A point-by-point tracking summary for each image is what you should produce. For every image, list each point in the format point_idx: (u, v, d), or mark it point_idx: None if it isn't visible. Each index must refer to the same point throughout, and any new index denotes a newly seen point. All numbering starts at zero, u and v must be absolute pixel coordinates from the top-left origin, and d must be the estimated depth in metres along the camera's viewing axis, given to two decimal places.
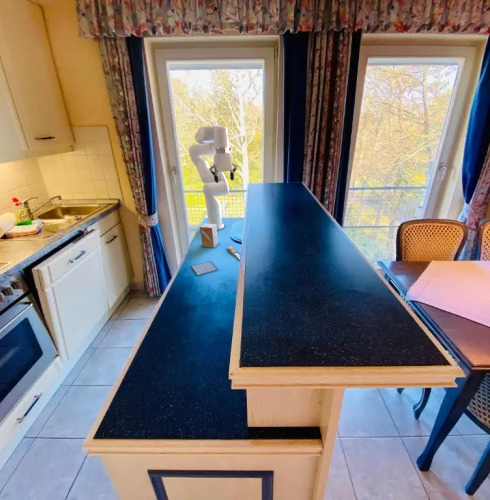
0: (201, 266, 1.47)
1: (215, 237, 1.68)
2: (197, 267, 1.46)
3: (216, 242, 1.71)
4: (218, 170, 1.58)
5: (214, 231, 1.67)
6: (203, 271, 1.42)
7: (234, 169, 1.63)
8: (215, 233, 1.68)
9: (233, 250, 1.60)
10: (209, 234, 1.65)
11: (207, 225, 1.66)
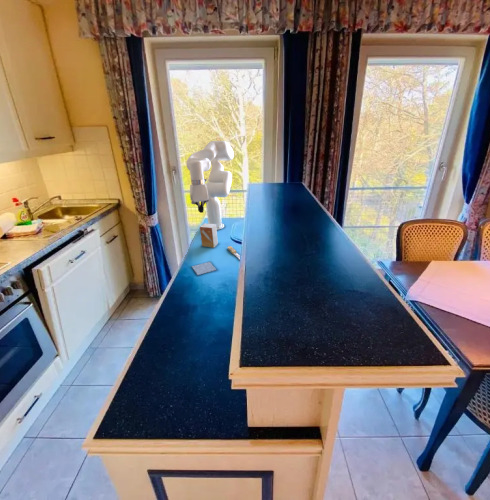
0: (201, 266, 1.47)
1: (215, 237, 1.68)
2: (197, 267, 1.46)
3: (216, 242, 1.71)
4: (194, 200, 1.65)
5: (214, 231, 1.67)
6: (203, 271, 1.42)
7: (203, 202, 1.69)
8: (215, 233, 1.68)
9: (233, 250, 1.60)
10: (209, 234, 1.65)
11: (207, 225, 1.66)
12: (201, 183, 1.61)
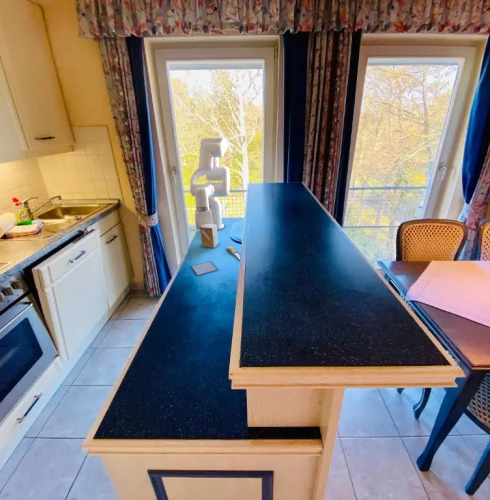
0: (201, 266, 1.47)
1: (215, 237, 1.68)
2: (197, 267, 1.46)
3: (216, 242, 1.71)
4: (199, 226, 1.68)
5: (215, 231, 1.67)
6: (203, 271, 1.42)
7: None
8: (215, 233, 1.68)
9: (233, 250, 1.60)
10: (209, 235, 1.65)
11: (207, 225, 1.66)
12: (206, 209, 1.65)
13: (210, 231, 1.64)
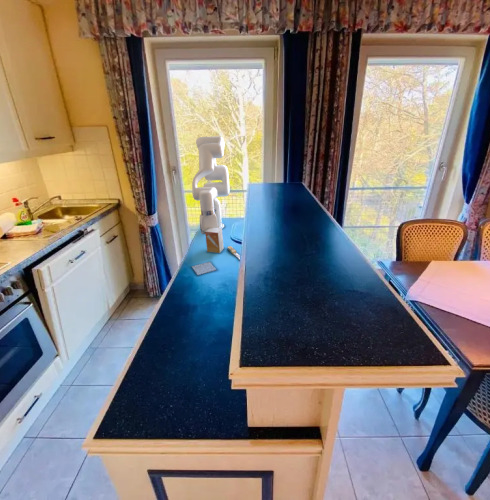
0: (201, 266, 1.47)
1: (221, 242, 1.62)
2: (197, 267, 1.46)
3: (222, 247, 1.64)
4: (204, 231, 1.62)
5: (220, 236, 1.60)
6: (203, 271, 1.42)
7: None
8: (221, 238, 1.61)
9: (233, 250, 1.60)
10: (215, 239, 1.58)
11: (213, 230, 1.59)
12: (211, 214, 1.58)
13: (216, 236, 1.57)
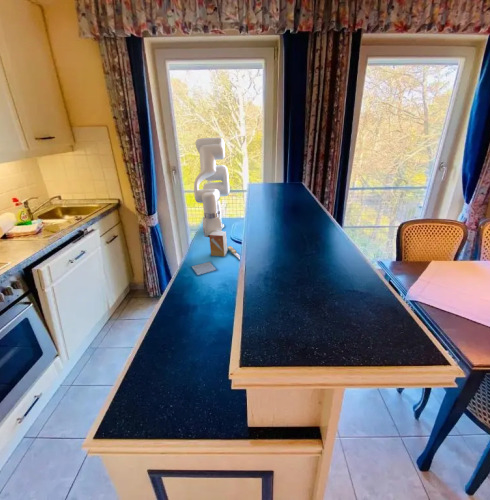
0: (201, 266, 1.47)
1: (225, 245, 1.58)
2: (197, 267, 1.46)
3: (226, 250, 1.60)
4: (207, 234, 1.57)
5: (225, 239, 1.56)
6: (203, 271, 1.42)
7: None
8: (225, 241, 1.57)
9: (233, 250, 1.60)
10: (219, 243, 1.54)
11: (217, 233, 1.55)
12: (215, 216, 1.54)
13: (221, 239, 1.53)
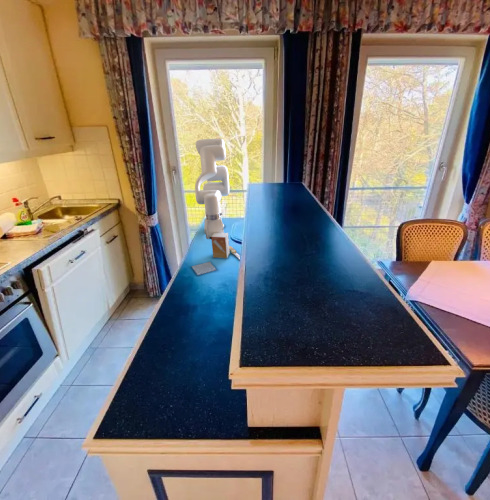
0: (201, 266, 1.47)
1: (227, 247, 1.56)
2: (197, 267, 1.46)
3: (228, 252, 1.58)
4: (209, 235, 1.55)
5: (227, 241, 1.54)
6: (203, 271, 1.42)
7: None
8: (227, 242, 1.55)
9: (233, 250, 1.60)
10: (222, 244, 1.52)
11: (219, 234, 1.53)
12: (217, 218, 1.51)
13: (223, 241, 1.51)
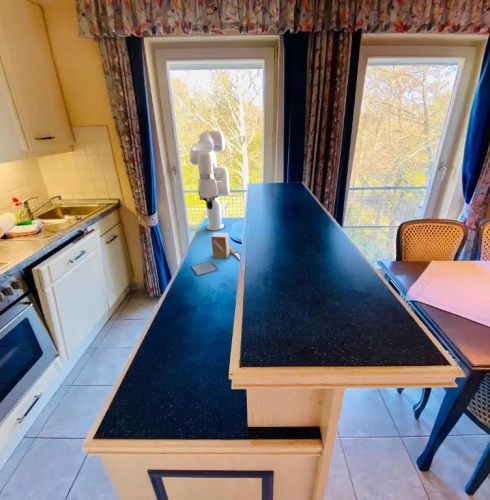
0: (201, 266, 1.47)
1: (227, 247, 1.56)
2: (197, 267, 1.46)
3: (228, 252, 1.58)
4: (202, 196, 1.53)
5: (227, 241, 1.54)
6: (203, 271, 1.42)
7: (213, 197, 1.58)
8: (227, 242, 1.55)
9: (233, 250, 1.60)
10: (222, 244, 1.52)
11: (219, 234, 1.53)
12: (210, 177, 1.50)
13: (223, 241, 1.51)
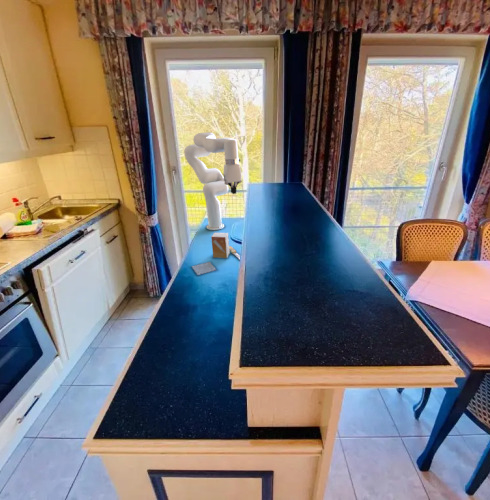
0: (201, 266, 1.47)
1: (227, 247, 1.56)
2: (197, 267, 1.46)
3: (228, 252, 1.58)
4: (228, 181, 1.62)
5: (227, 241, 1.54)
6: (203, 271, 1.42)
7: (237, 182, 1.66)
8: (227, 242, 1.55)
9: (233, 250, 1.60)
10: (222, 244, 1.52)
11: (219, 234, 1.53)
12: (236, 163, 1.58)
13: (223, 241, 1.51)
